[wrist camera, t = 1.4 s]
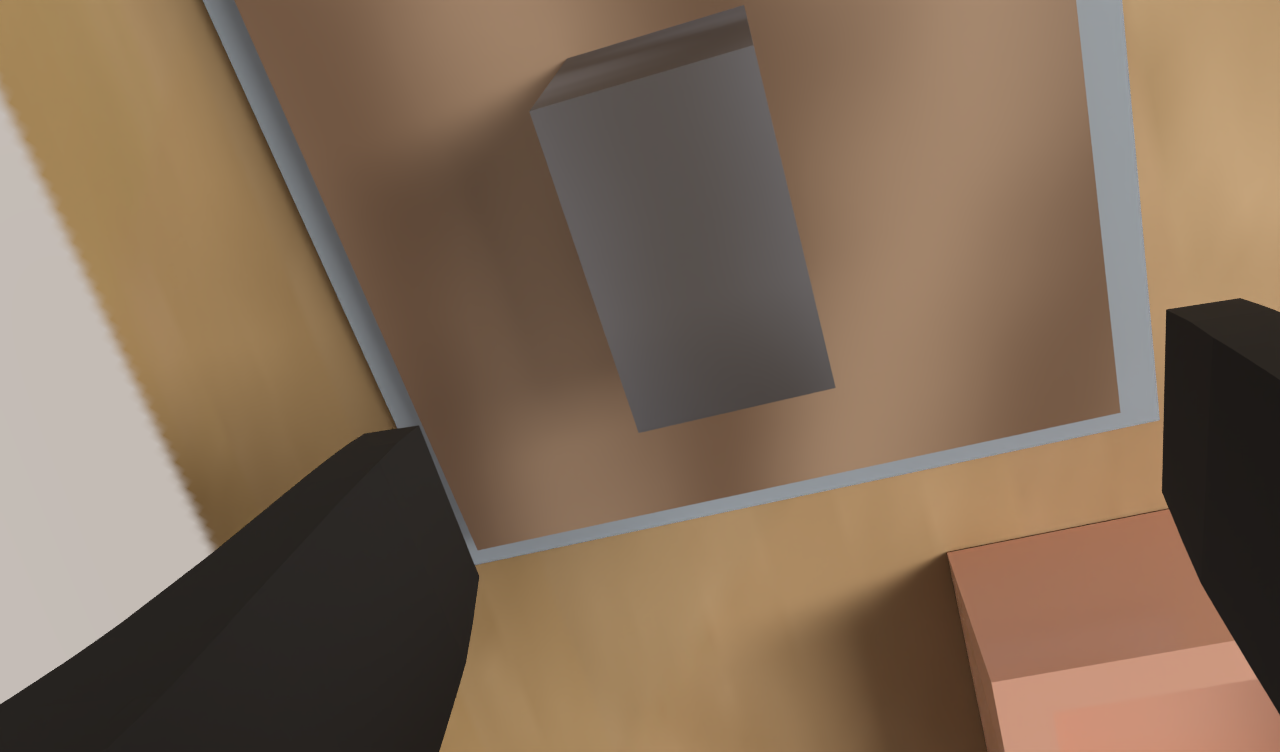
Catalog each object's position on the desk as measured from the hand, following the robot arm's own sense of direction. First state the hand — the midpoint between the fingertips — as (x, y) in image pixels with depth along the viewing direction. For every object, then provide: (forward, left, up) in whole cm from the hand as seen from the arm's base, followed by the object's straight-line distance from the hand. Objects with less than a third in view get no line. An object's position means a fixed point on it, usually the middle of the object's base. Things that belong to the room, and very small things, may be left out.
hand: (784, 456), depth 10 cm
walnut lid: (-1, +1, -10) cm, 10 cm away
